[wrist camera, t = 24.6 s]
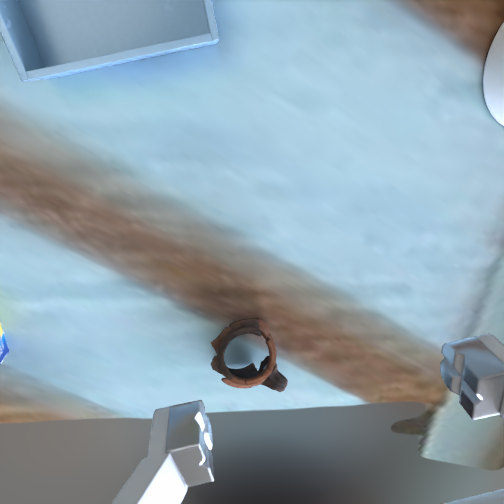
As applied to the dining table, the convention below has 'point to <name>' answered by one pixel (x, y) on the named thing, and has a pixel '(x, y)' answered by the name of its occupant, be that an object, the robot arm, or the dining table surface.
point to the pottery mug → (249, 374)
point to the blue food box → (3, 345)
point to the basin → (100, 32)
